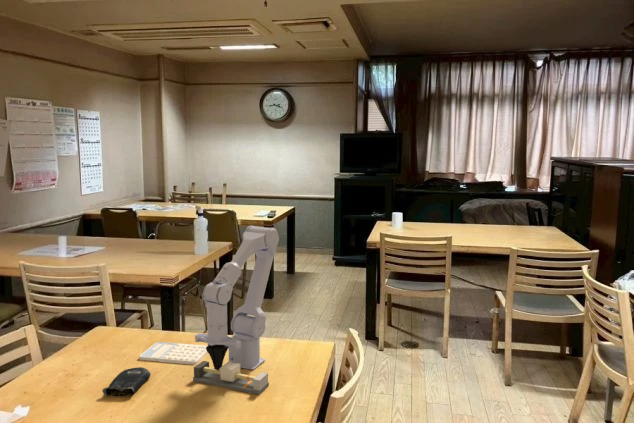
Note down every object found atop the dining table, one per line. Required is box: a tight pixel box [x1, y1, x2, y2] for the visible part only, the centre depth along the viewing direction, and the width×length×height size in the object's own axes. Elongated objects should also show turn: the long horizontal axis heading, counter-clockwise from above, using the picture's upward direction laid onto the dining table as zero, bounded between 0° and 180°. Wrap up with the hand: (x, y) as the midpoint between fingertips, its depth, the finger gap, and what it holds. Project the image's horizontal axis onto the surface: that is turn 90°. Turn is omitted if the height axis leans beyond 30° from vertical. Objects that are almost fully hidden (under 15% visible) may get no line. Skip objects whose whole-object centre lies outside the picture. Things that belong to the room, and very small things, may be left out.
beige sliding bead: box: [220, 361, 241, 382], centre depth 149 cm, size 4×4×4 cm
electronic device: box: [102, 366, 151, 398], centre depth 148 cm, size 9×6×15 cm
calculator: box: [138, 341, 209, 366], centre depth 170 cm, size 13×20×2 cm, turn 80°
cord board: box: [192, 360, 270, 396], centre depth 150 cm, size 22×6×4 cm, turn 68°
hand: (218, 368), depth 151 cm, fingers closed
